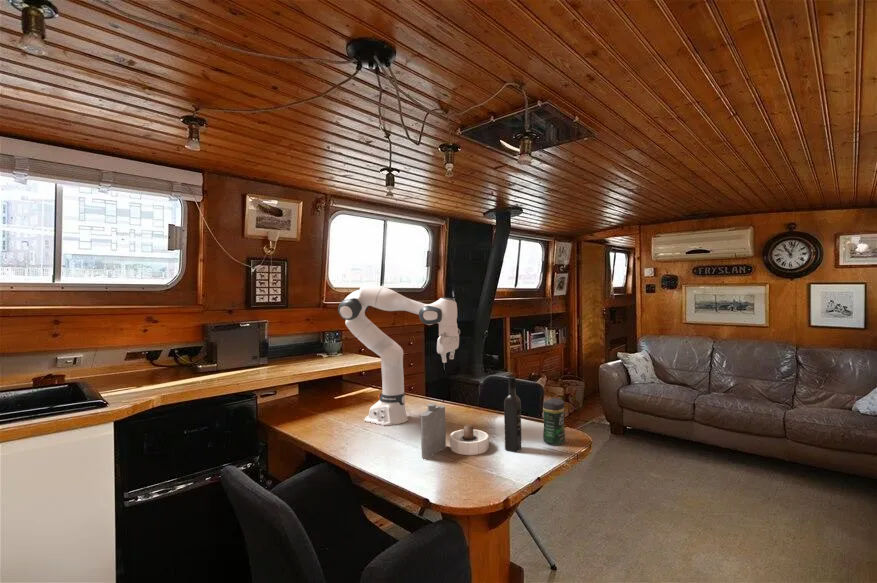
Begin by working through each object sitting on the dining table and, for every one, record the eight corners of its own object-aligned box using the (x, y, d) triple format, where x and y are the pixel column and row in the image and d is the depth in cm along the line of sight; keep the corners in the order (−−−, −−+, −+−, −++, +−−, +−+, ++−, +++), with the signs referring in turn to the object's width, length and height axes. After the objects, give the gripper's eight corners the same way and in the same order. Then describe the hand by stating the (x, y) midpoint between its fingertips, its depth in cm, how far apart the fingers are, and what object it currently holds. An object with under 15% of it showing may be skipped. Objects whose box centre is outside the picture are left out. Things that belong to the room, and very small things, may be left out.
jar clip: (458, 447, 176) (458, 439, 176) (463, 440, 183) (463, 434, 183) (474, 449, 173) (474, 441, 173) (479, 443, 180) (479, 436, 180)
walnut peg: (470, 447, 175) (470, 428, 175) (462, 445, 178) (462, 426, 178) (475, 444, 179) (474, 425, 179) (467, 442, 181) (466, 424, 181)
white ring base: (444, 451, 174) (444, 439, 174) (457, 438, 189) (457, 427, 189) (482, 457, 168) (481, 444, 168) (492, 442, 183) (492, 431, 182)
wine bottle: (522, 448, 176) (521, 377, 175) (516, 452, 171) (515, 379, 171) (510, 445, 179) (508, 375, 179) (504, 450, 174) (502, 378, 174)
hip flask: (426, 460, 166) (425, 409, 166) (418, 458, 168) (417, 408, 168) (447, 446, 180) (446, 400, 179) (439, 445, 182) (438, 399, 181)
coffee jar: (557, 447, 176) (556, 403, 176) (540, 442, 182) (539, 400, 181) (568, 440, 183) (567, 398, 183) (551, 436, 189) (550, 395, 188)
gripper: (446, 334, 189) (446, 365, 189) (461, 329, 208) (461, 357, 208) (433, 333, 191) (433, 364, 191) (449, 329, 210) (449, 357, 210)
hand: (448, 360), depth 200 cm, fingers open, 8 cm apart
